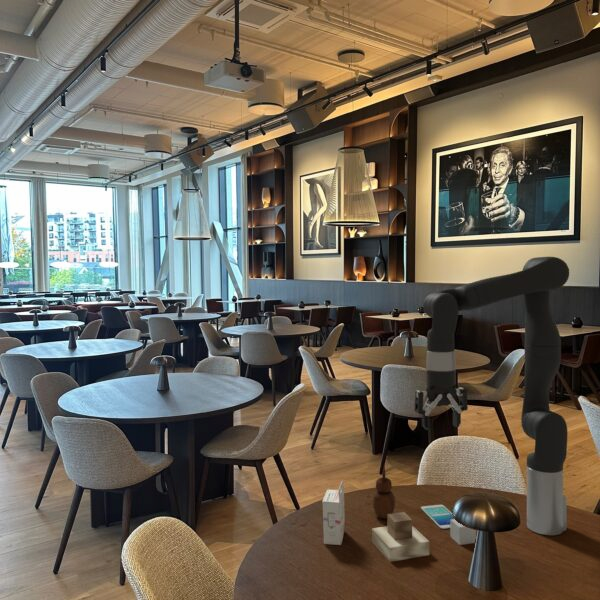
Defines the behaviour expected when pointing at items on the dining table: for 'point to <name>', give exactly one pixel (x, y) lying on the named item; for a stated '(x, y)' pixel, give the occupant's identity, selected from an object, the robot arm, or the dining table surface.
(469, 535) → the grey cube
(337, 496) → the ink cartridge box
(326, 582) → the dining table surface
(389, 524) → the walnut cube
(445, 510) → the smartphone
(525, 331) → the robot arm
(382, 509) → the wooden figurine
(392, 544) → the birch block
